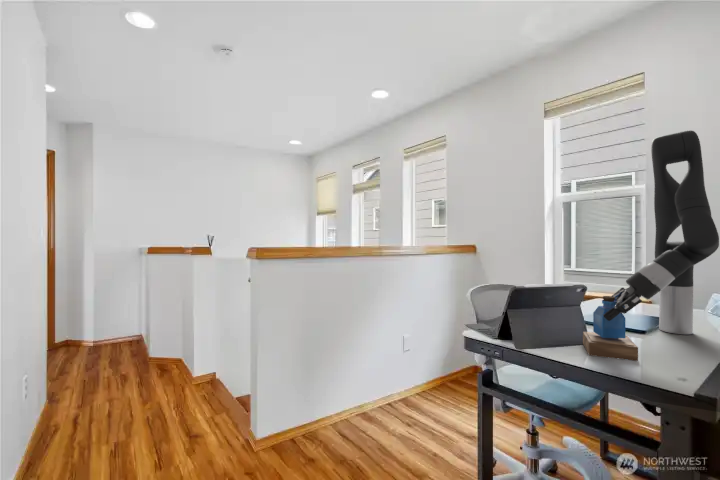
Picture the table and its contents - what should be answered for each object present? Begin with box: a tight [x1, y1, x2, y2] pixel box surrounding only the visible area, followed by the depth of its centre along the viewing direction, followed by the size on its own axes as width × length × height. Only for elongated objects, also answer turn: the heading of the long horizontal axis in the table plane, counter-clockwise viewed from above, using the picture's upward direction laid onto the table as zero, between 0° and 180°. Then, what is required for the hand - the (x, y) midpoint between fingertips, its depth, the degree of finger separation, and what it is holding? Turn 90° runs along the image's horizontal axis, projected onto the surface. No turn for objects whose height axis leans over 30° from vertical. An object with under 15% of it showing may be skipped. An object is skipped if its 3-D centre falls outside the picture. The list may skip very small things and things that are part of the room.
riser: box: [582, 331, 639, 362], centre depth 109 cm, size 12×12×4 cm
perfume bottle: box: [592, 295, 626, 338], centre depth 109 cm, size 6×6×12 cm
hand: (603, 315), depth 109 cm, fingers closed on perfume bottle, 7 cm apart
